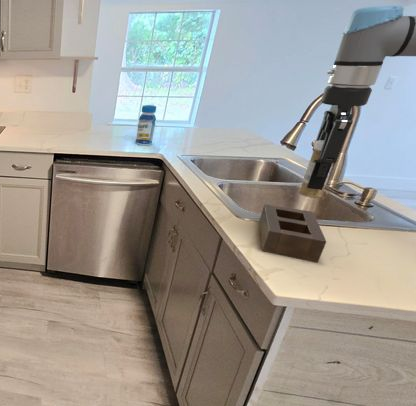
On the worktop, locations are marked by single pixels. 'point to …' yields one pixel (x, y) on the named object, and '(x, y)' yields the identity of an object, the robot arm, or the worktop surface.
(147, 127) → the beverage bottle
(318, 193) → the sprinkles bottle
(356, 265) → the worktop surface
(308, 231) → the spice stand
